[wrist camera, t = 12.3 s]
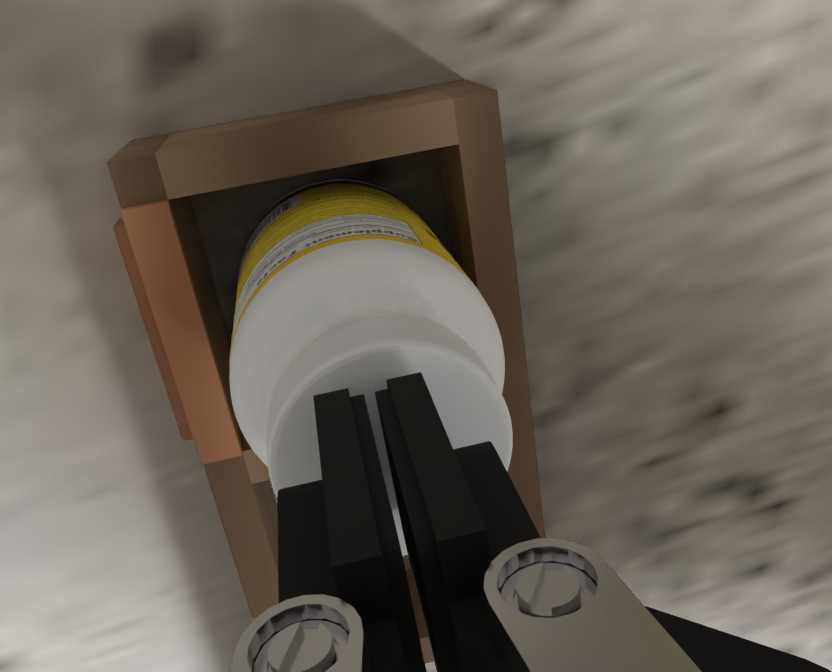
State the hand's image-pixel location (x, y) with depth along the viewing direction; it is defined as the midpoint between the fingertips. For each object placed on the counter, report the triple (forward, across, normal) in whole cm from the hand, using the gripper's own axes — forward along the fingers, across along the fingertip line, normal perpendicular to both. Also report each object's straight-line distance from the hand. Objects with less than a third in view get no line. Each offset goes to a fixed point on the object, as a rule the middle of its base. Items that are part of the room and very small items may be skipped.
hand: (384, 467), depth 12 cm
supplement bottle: (+10, 0, 0) cm, 10 cm away
